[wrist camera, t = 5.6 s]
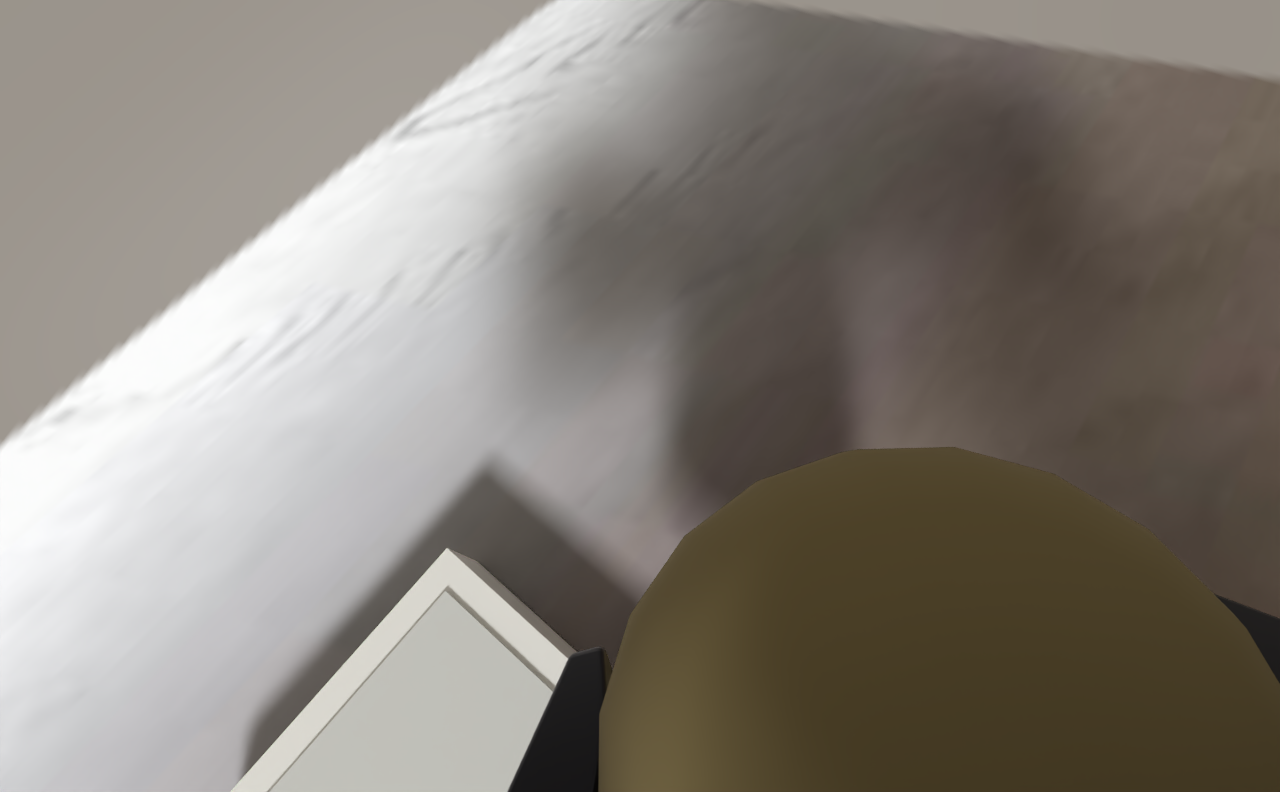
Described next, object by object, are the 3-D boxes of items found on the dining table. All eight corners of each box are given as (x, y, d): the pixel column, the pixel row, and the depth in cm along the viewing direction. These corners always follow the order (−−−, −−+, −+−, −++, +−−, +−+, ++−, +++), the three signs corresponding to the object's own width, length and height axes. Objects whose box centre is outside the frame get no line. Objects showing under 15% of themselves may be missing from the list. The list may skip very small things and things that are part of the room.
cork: (659, 532, 16) (588, 296, 6) (948, 573, 15) (1467, 387, 5) (614, 848, 14) (378, 1357, 4) (943, 913, 13) (1780, 1767, 3)
